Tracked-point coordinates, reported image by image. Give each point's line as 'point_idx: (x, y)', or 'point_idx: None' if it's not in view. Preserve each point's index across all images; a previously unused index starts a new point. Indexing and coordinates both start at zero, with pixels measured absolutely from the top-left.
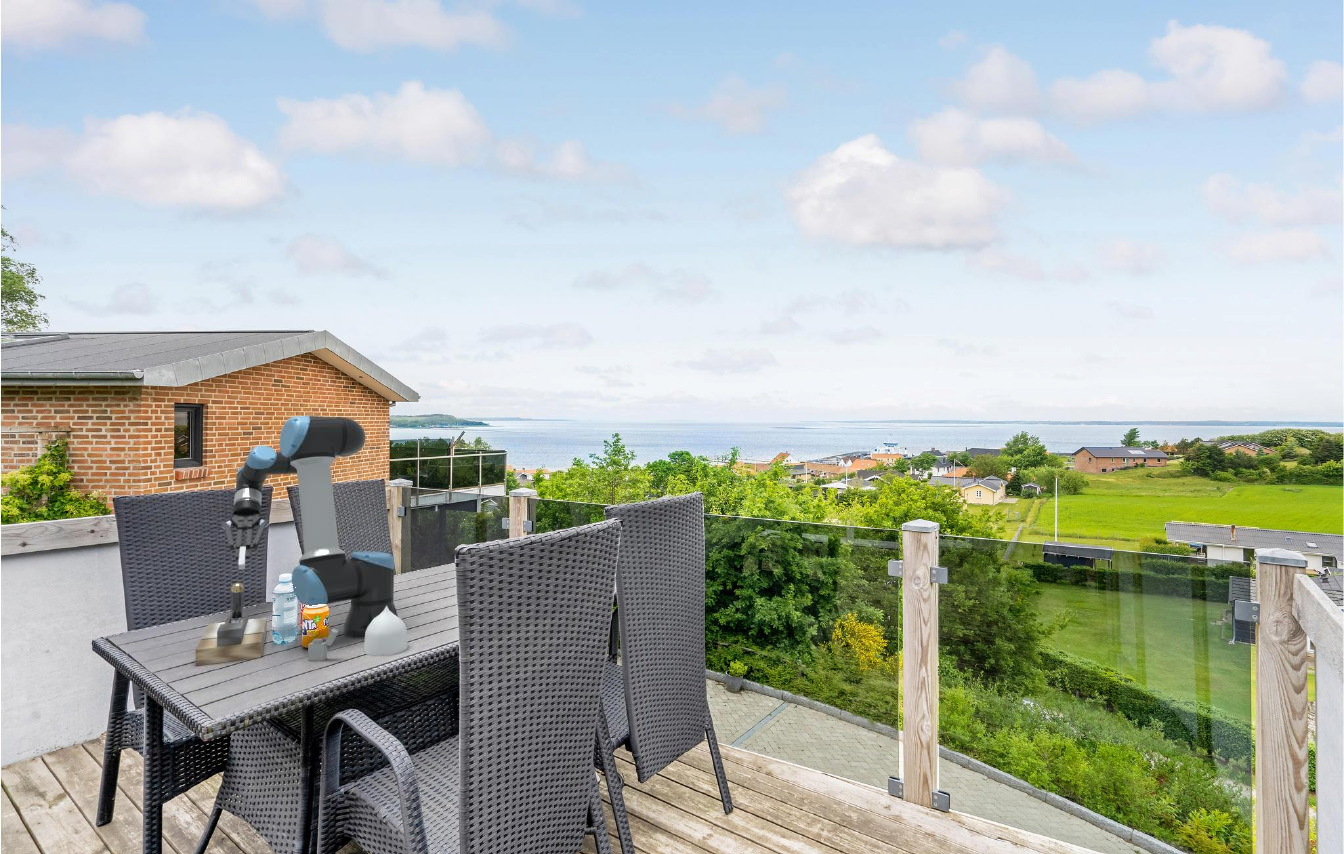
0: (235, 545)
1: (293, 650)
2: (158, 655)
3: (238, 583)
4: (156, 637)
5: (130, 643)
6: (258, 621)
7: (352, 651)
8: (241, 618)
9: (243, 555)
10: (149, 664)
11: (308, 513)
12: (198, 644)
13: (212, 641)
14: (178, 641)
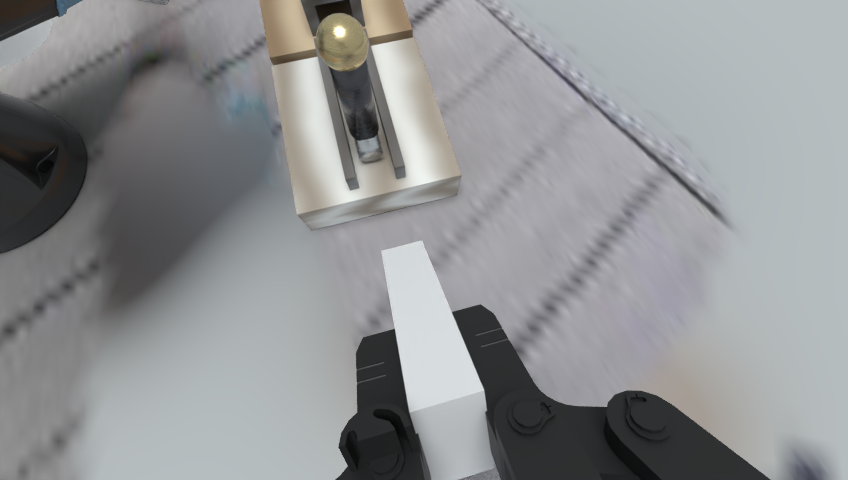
0: (577, 442)
1: (210, 57)
2: (509, 78)
3: (331, 17)
4: (608, 225)
5: (643, 182)
6: (312, 171)
7: (77, 28)
8: (357, 150)
9: (404, 300)
10: (494, 28)
11: None
12: (402, 1)
13: (378, 16)
14: (523, 176)
